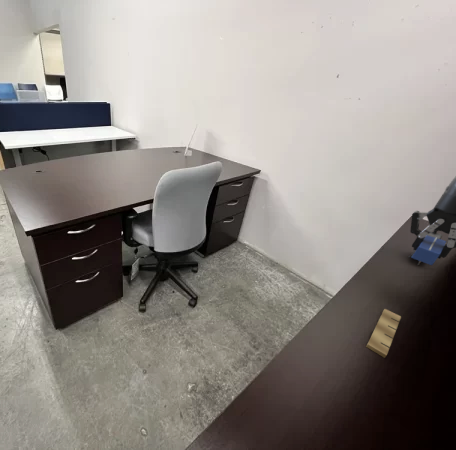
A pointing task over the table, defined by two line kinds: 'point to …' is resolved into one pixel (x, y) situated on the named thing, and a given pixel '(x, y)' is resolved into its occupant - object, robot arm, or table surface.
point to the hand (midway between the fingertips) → (426, 252)
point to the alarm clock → (432, 234)
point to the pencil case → (429, 250)
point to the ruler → (384, 333)
